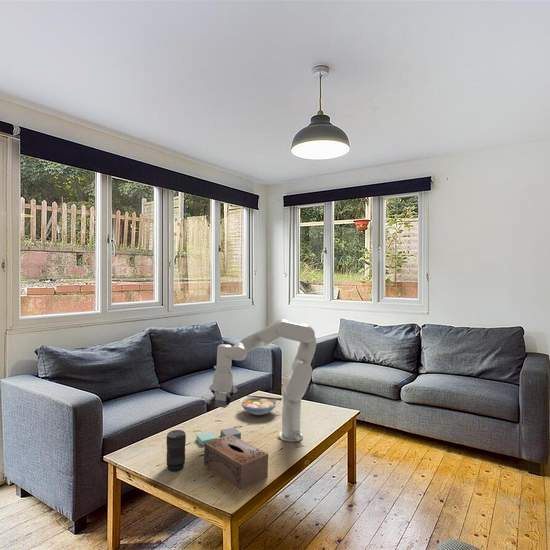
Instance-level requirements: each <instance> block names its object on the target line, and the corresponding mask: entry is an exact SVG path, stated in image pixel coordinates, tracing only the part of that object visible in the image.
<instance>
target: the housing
mask: <svg viewBox="0 0 550 550" xmlns="http://www.w3.org/2000/svg"><path fill="white" fill-rule="evenodd" d="M214 397H215V401H214V407H215V408H216V407H217V408H222V409H223V408H224V409H225V408H227V407H228V405H227V397H228V395H227V392H217V393H216V395H215V396H214Z"/></svg>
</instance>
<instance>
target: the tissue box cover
mask: <svg viewBox="0 0 550 550" xmlns="http://www.w3.org/2000/svg"><path fill="white" fill-rule="evenodd" d="M203 452H204V453H203V455H204V457H203V466H205V467H206V468H208V469H210V470H211V471H213V472H214V473H216V474H217V475H218V476H220V477H222V478H223V479H225V480H226V481H228V482H229V483H230V484H232V485H233V486H235V487H237V488H238V489H239V490H244V489H246V488H247V487H250V486H251V485H253V484H256V483H258V482H260V481H261V480H263V479H266V478H267V477H269V475H268V474H269V453H268V452H266V451H264V450H262V449H260V448H258V447H256V446H254V445H252V444H250V443H248V442H246V441H244V440H242V439H241V438H237V437H235V436H233V435H231V434H229V435H227V436H224V437H222V436H221V437H219V438H218V437H217V439H215V440H212V441H210V442H207V443H205V445H204V451H203Z"/></svg>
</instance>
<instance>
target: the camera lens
mask: <svg viewBox="0 0 550 550" xmlns="http://www.w3.org/2000/svg"><path fill="white" fill-rule="evenodd" d="M186 438H187V435H186V431H184V430H183V429H182V430H181V429H175V430H171V431H168V433H167V435H166V465H167V469H168V471H171V472H178V471H181V470H183V468H184V465H185V463H186V441H187V440H186Z"/></svg>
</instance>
